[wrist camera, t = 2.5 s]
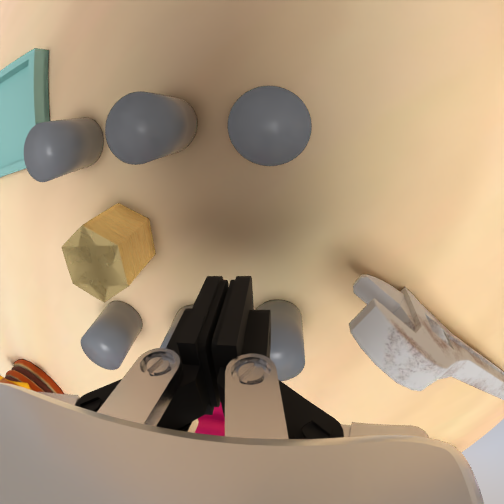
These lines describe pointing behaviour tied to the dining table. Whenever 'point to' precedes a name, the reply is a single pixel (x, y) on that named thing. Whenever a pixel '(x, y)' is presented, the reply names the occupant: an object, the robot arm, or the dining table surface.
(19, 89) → the teal dish
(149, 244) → the gold hexagonal prism
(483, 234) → the dining table surface
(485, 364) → the silver wrench
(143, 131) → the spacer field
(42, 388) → the hamburger
